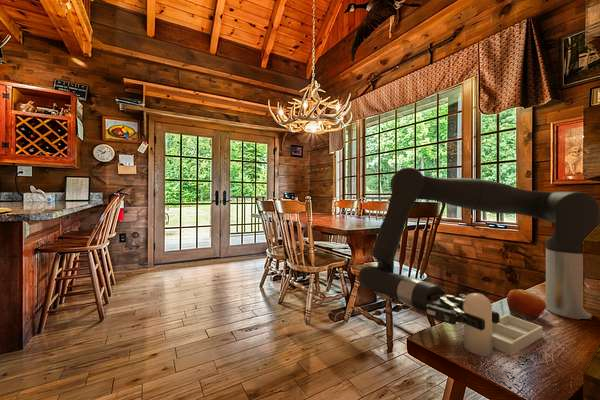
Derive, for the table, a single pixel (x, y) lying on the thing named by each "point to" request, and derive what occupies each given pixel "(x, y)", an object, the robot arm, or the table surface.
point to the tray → (514, 334)
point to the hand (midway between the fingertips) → (491, 321)
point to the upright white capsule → (476, 338)
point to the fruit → (525, 303)
